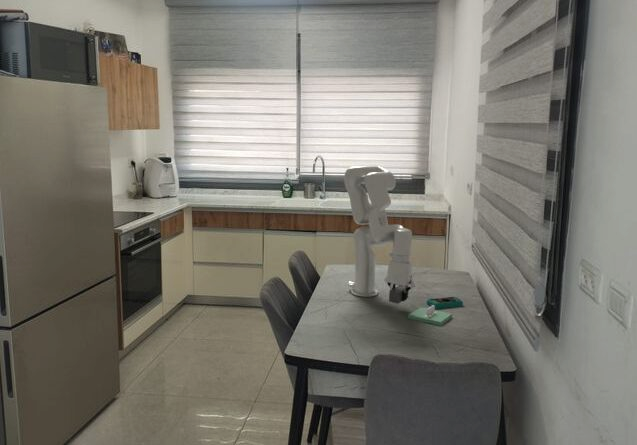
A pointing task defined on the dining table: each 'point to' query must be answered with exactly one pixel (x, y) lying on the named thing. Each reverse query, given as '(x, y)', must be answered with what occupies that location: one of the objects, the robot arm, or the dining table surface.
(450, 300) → the digital multimeter
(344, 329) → the dining table surface
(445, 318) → the board
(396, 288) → the block
